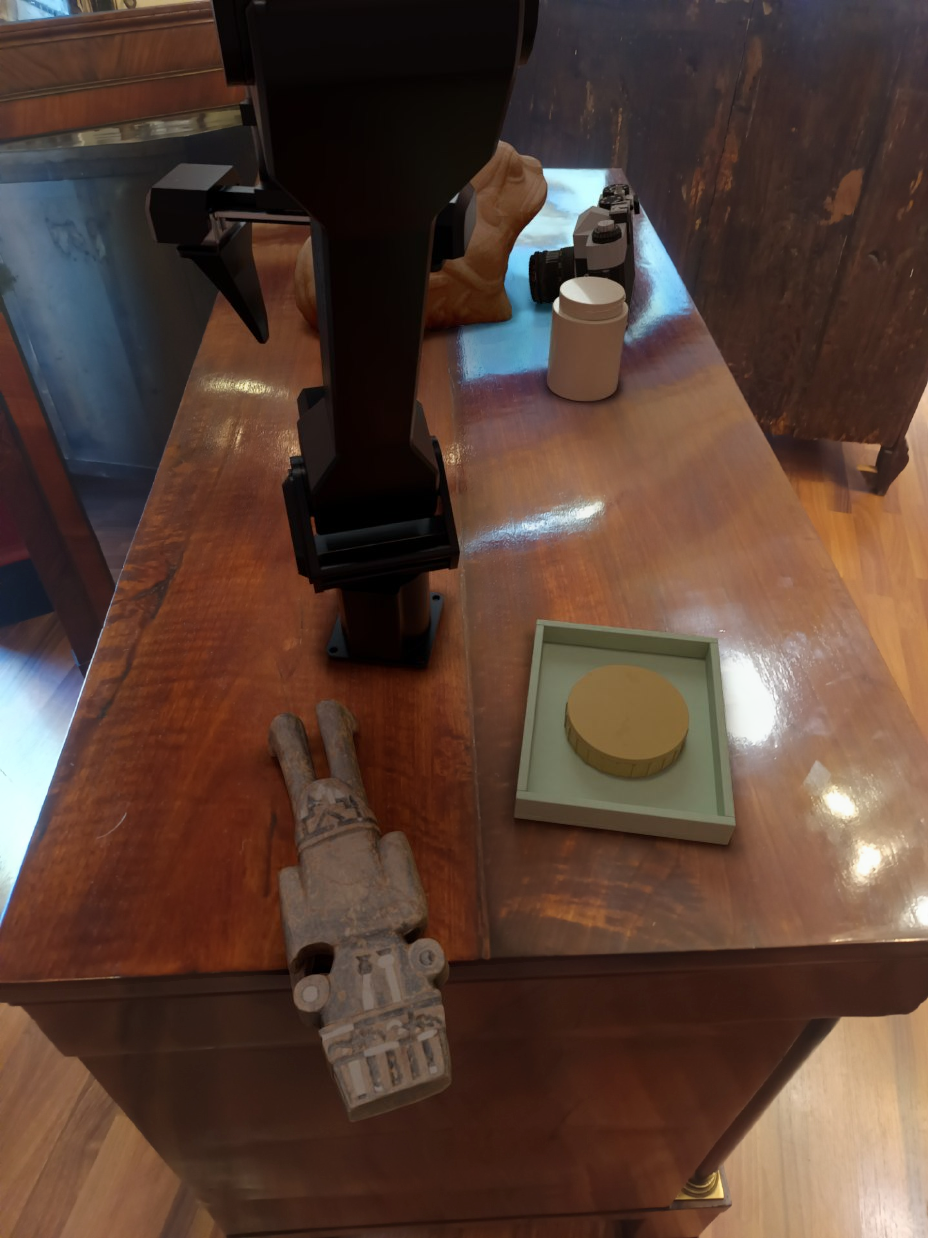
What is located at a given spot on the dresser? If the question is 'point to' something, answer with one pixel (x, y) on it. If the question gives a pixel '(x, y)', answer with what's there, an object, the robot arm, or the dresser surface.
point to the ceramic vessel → (477, 279)
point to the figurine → (358, 929)
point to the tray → (584, 796)
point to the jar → (587, 339)
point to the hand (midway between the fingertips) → (331, 345)
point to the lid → (626, 720)
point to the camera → (592, 249)
